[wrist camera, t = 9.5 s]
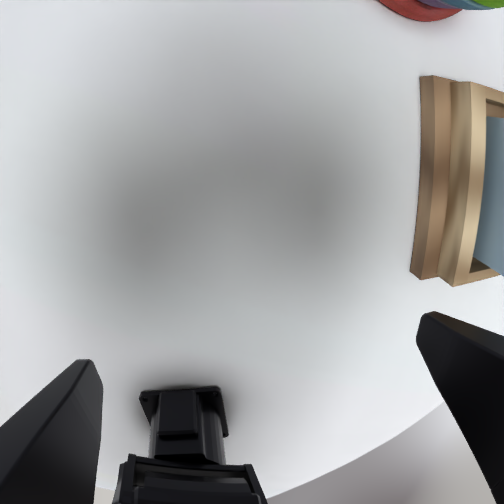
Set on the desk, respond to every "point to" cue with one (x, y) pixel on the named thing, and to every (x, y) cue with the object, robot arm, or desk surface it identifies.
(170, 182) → the desk surface
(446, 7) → the stacking bear
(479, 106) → the jig
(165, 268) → the desk surface
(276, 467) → the desk surface
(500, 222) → the blue slab
